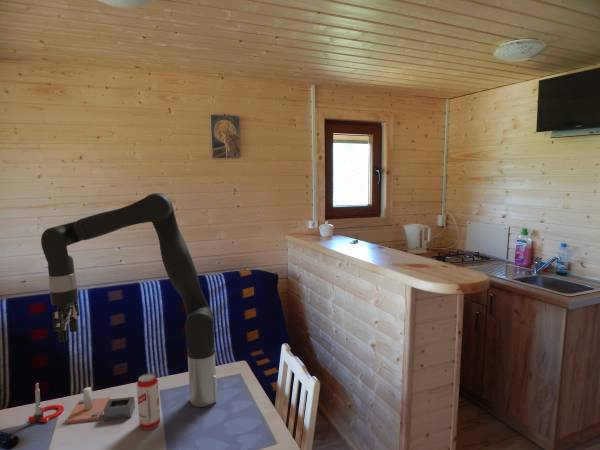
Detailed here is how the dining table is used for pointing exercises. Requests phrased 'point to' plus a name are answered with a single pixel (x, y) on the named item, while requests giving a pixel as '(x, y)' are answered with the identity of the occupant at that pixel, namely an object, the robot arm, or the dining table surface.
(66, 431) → the dining table surface
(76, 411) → the keeper plate
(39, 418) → the tow hook
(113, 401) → the grey hollow block
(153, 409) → the beer can
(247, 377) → the dining table surface
